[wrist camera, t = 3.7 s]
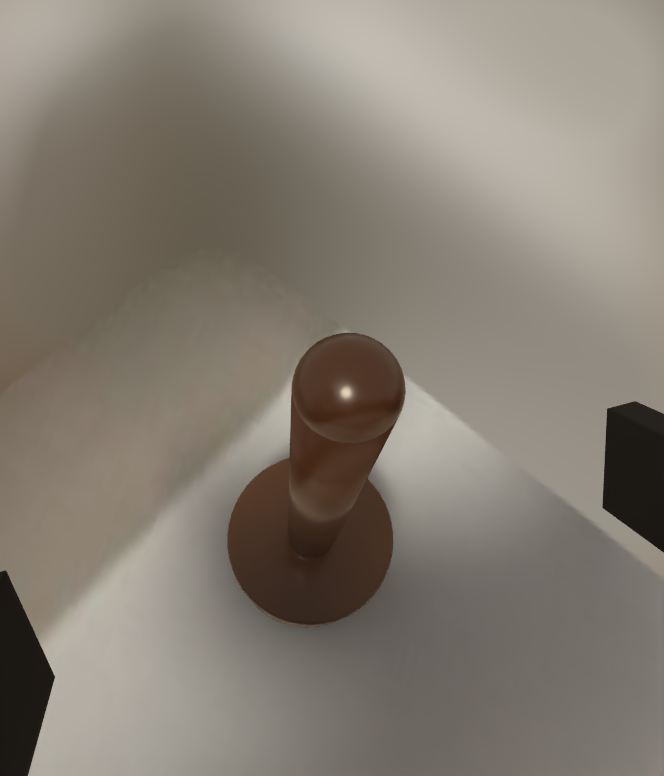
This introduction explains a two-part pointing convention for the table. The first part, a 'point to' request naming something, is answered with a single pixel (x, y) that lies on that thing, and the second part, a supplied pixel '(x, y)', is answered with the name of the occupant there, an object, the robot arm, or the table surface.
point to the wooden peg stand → (323, 490)
